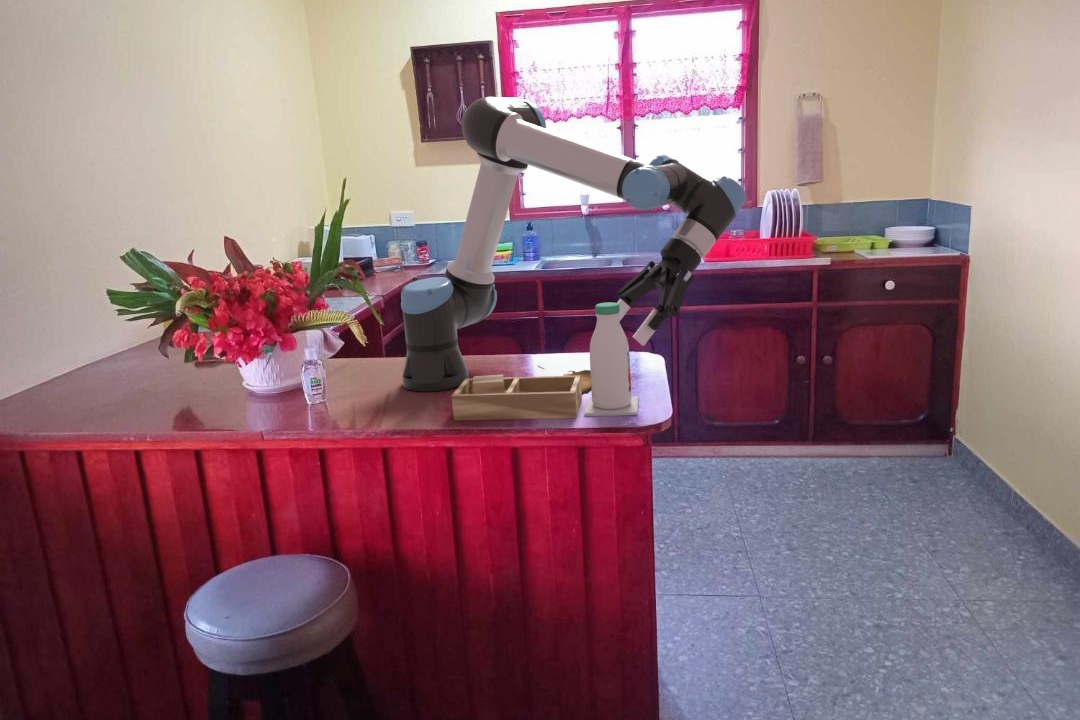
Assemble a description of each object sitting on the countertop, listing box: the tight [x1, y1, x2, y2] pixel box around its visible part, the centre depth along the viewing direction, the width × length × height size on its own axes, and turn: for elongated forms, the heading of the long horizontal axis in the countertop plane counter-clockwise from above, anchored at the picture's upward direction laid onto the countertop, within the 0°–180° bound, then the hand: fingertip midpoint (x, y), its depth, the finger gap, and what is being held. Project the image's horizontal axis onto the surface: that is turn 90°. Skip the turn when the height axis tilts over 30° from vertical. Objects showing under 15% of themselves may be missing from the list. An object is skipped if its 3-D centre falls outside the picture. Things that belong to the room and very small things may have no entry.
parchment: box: [562, 369, 591, 396], centre depth 170 cm, size 25×10×1 cm, turn 159°
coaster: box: [584, 395, 639, 417], centre depth 154 cm, size 10×10×1 cm
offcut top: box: [472, 374, 505, 394], centre depth 157 cm, size 5×6×4 cm
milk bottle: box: [589, 301, 632, 409], centre depth 152 cm, size 8×8×20 cm
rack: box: [451, 375, 583, 421], centre depth 157 cm, size 12×24×5 cm, turn 82°
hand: (621, 334), depth 151 cm, fingers open, 13 cm apart
